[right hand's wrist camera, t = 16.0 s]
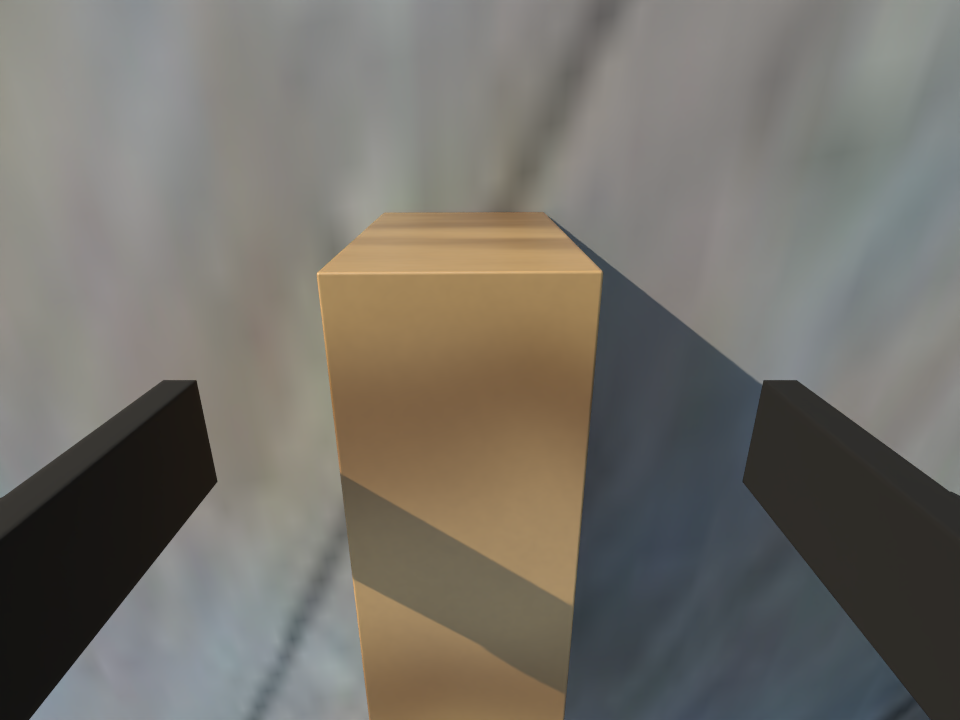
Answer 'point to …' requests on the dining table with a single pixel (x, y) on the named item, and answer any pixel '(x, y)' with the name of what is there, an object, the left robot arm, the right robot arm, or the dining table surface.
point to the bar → (463, 455)
